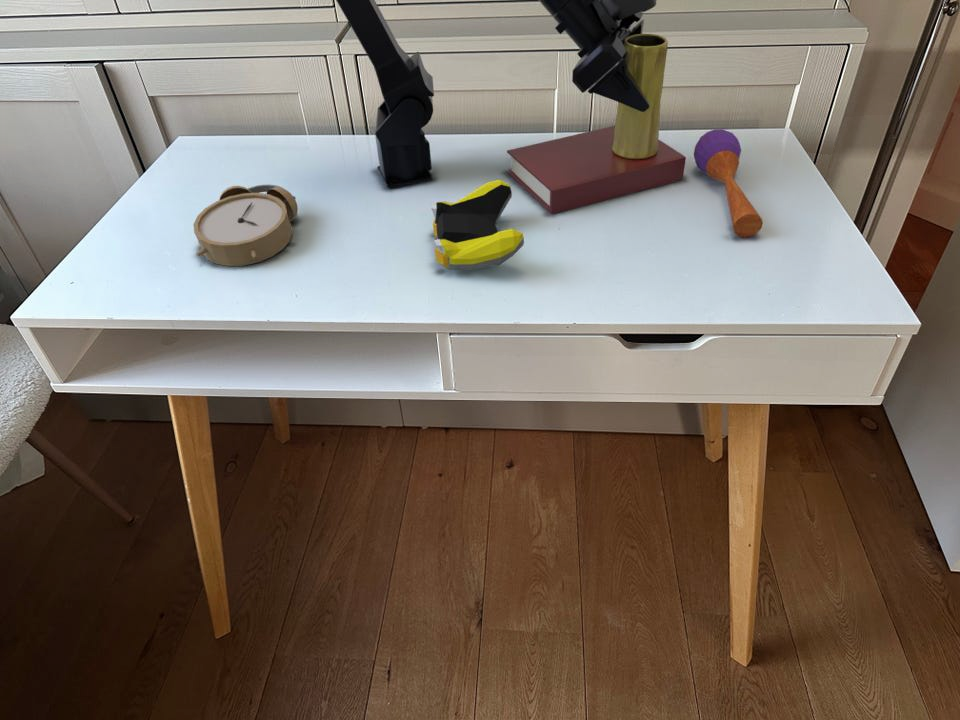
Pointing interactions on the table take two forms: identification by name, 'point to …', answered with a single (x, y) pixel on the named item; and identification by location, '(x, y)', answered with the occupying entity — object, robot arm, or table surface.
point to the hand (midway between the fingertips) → (651, 95)
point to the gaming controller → (475, 229)
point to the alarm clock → (246, 225)
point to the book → (589, 170)
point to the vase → (647, 68)
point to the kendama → (727, 177)
